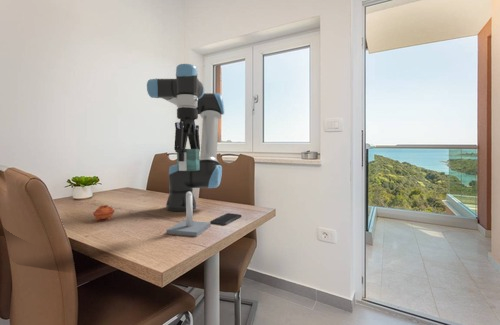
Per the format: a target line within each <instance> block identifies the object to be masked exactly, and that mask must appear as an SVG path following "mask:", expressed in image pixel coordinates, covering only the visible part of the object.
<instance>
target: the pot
mask: <svg viewBox="0 0 500 325" xmlns="http://www.w3.org/2000/svg"><path fill="white" fill-rule="evenodd" d="M114 213H115V209H114V208H113V207H111V206H109V205H108V204H107V205H100V206H98V208H96V210H94V212H93V216H94V217H95V220H96V221H97V222H98V221H99V219H101V220H105V219H107V220H108V221H111V217H112V216H113V214H114Z"/></svg>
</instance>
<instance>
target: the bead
mask: <svg viewBox="0 0 500 325" xmlns="http://www.w3.org/2000/svg"><path fill="white" fill-rule="evenodd" d="M185 152H186V159H187V171H197V170H200V164H199V159H200V152H199V149H191V148H185ZM176 163H177V164H176V165H177V170H178V171H179V153H178V152H176Z"/></svg>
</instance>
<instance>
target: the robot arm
mask: <svg viewBox="0 0 500 325" xmlns="http://www.w3.org/2000/svg"><path fill="white" fill-rule="evenodd" d="M197 69H198V68H197V67H196V65H194V64H191V63H190V64H189V63H180V64H178V65H176V69H175V70H176V71H175V78H150V79H148V80H147V82H146V92H147V95H148V96H149V97H150V98H151V99H152V98H154V99H162V100H165V101H167V102H169V103H171V104H173V105H175V106H176V107H177V109H176V118H177V120H179V122H176V121H175V123H174V128H175V133H174V134H175V136H174V149H173V150H174V151H175V153H177V152H178V153H179V171H178V170H177V164H172V165H170V166H169V169H168V186H169V189H168V190H169V193H168V197H167V201H166V203H165V209H166V211H169V212H186V193H187V192H191V193H192V205H193V210H195V209H196V208H197V200H196V199H195V198H196V197H195V196H194V192H193V189H216V188H218V187H219V186H220V185H221V182H222V177H223V176H222V175H223V166H222V165H220V161H219V160H218V159H217V158H218V155H217V154H218V141H219V140H218V139H219V138H218V135H219V120H221V118H222V115H225V106H224V98H223V95H222V94H221V93H219V92H217V93H215V92H212V93H210V92H209V93H208V92H207V93H205V91H206V90H205V87H204V85H203V82H201V81H200V80H199V78H198V70H197ZM199 116H200V117H201V119H202V125H201V126H202V128H201V139H200V134H199V132H200V131H199V130H200V126H199V124H198V125H197V124H196V122H195V120H198V118H199ZM187 142H189V143H188V144H189V146H190V147H189V149H199V164H200V170H197V171H187V159H186V152H185V149H187ZM200 142H201V143H200Z"/></svg>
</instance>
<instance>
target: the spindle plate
mask: <svg viewBox="0 0 500 325" xmlns="http://www.w3.org/2000/svg"><path fill="white" fill-rule="evenodd" d="M193 211H194V209H193V205H192V193H191V192H187V193H186V211H185V213H186V214H185V217H186V218H185V220H184V219H183V220H181V221H180V222H178V223H176V224H175V225H172V226H171V227H169V228H167V229H166V234H167V235H174V236H175V235H177V236H188V237H199V235H201V234H203V232H205V231H206V230H209V228H211V222H210V221H199V220H198V221H197V220H196V221H195V220H194V217H193Z"/></svg>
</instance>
